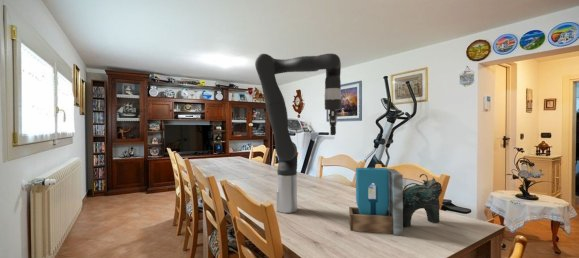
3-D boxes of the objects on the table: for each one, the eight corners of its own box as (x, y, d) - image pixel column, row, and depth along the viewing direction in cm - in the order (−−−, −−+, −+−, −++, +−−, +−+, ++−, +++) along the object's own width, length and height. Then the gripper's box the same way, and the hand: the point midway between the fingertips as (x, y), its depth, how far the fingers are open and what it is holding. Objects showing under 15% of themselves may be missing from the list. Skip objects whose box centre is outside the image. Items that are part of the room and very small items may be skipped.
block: (386, 217, 107) (386, 168, 106) (389, 222, 102) (389, 170, 102) (356, 216, 108) (355, 167, 108) (357, 220, 103) (356, 169, 103)
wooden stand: (350, 232, 100) (350, 173, 100) (349, 219, 113) (348, 168, 113) (403, 235, 96) (402, 175, 96) (394, 222, 110) (394, 169, 110)
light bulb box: (392, 203, 137) (392, 182, 137) (389, 206, 131) (389, 185, 131) (371, 200, 143) (371, 180, 143) (367, 203, 137) (367, 182, 137)
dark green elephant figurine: (433, 218, 114) (433, 171, 114) (446, 223, 108) (446, 174, 108) (395, 223, 108) (394, 174, 108) (406, 229, 102) (406, 177, 102)
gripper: (325, 100, 129) (325, 134, 129) (323, 97, 115) (324, 135, 115) (341, 100, 128) (341, 134, 128) (341, 97, 114) (341, 135, 114)
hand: (333, 134), depth 121 cm, fingers open, 8 cm apart
